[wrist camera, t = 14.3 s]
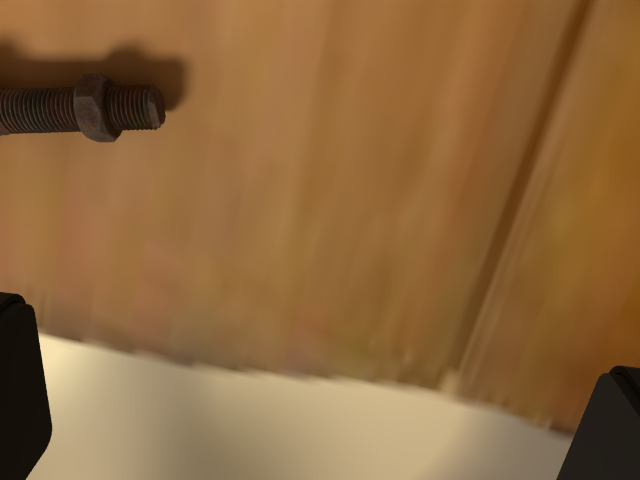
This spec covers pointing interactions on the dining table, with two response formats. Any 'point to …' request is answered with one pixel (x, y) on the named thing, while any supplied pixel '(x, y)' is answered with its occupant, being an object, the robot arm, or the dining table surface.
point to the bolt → (82, 109)
